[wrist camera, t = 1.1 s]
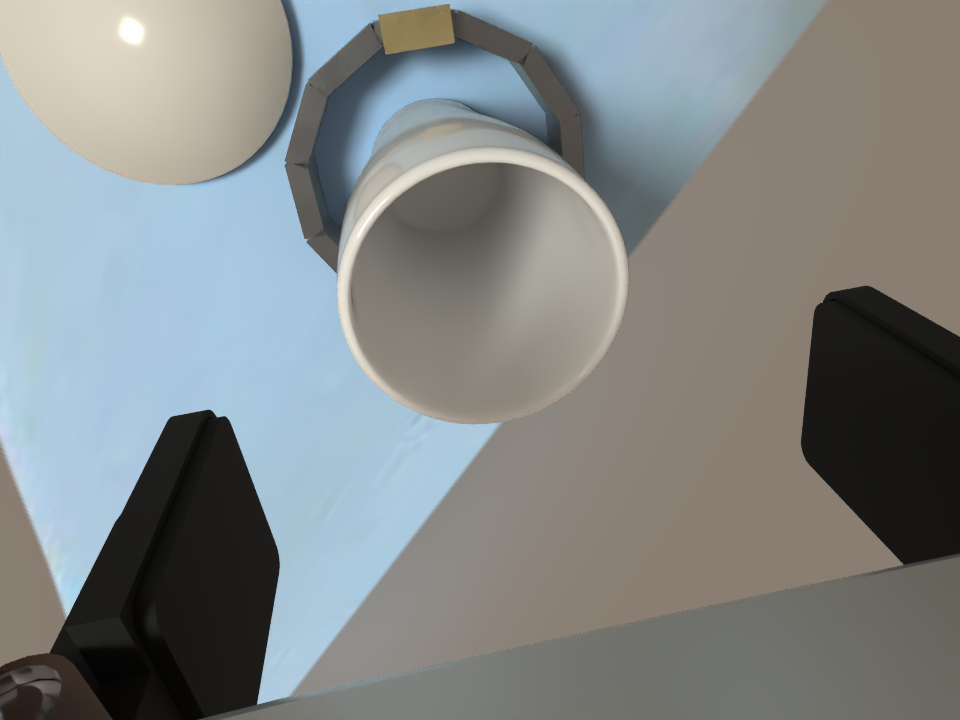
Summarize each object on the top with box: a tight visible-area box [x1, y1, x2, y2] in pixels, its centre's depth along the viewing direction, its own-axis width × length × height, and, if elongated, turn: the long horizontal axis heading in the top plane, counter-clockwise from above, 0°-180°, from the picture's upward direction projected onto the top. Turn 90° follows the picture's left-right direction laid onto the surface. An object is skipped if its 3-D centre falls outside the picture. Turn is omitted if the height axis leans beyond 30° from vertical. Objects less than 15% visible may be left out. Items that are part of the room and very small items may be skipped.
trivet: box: [0, 0, 293, 185], centre depth 25 cm, size 10×10×1 cm
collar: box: [285, 4, 585, 273], centre depth 27 cm, size 12×11×3 cm
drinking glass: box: [337, 98, 629, 424], centre depth 22 cm, size 7×7×15 cm
